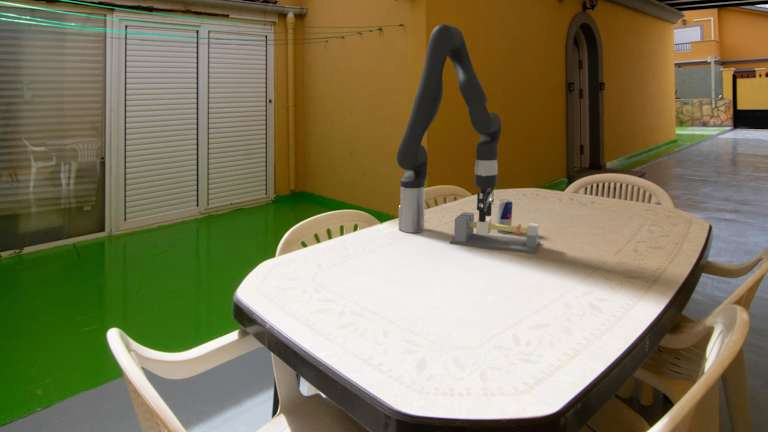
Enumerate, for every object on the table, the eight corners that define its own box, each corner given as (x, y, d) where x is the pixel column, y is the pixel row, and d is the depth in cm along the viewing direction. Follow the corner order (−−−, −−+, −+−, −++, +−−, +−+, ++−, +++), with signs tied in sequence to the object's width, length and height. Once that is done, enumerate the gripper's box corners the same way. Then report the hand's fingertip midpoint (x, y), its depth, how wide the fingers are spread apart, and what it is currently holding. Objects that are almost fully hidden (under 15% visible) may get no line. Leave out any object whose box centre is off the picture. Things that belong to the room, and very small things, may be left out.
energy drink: (511, 233, 171) (513, 202, 168) (496, 233, 172) (498, 202, 169) (510, 229, 176) (512, 199, 173) (496, 229, 177) (497, 199, 174)
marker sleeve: (476, 233, 160) (476, 220, 158) (479, 230, 164) (480, 216, 163) (487, 235, 158) (488, 221, 157) (490, 231, 162) (491, 217, 161)
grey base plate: (449, 243, 161) (449, 240, 161) (459, 234, 172) (459, 231, 171) (535, 253, 149) (535, 251, 149) (540, 243, 159) (540, 240, 159)
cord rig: (454, 240, 161) (454, 218, 159) (462, 232, 170) (463, 211, 168) (534, 250, 149) (535, 226, 147) (538, 240, 159) (540, 218, 157)
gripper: (480, 169, 163) (479, 213, 167) (469, 175, 151) (469, 222, 155) (501, 170, 160) (500, 214, 164) (492, 176, 148) (491, 224, 152)
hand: (485, 218), depth 160 cm, fingers open, 8 cm apart
